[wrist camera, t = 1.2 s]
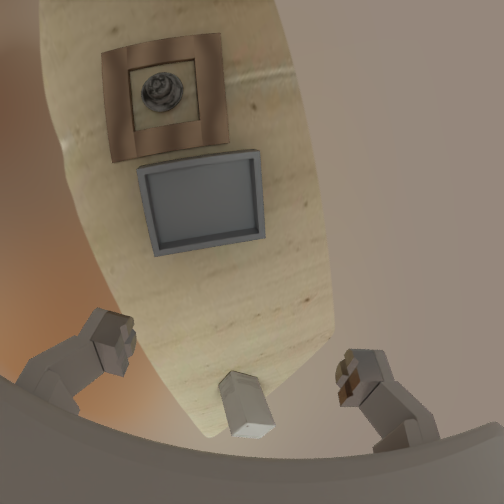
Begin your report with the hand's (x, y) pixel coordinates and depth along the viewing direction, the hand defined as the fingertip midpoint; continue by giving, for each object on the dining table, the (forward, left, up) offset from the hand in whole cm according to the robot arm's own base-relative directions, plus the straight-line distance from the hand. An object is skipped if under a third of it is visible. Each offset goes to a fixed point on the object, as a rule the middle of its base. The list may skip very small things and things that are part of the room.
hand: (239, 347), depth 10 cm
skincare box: (+37, -33, -37) cm, 62 cm away
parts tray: (+3, -3, -37) cm, 37 cm away
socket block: (-12, +7, -37) cm, 39 cm away
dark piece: (-12, +7, -37) cm, 39 cm away
